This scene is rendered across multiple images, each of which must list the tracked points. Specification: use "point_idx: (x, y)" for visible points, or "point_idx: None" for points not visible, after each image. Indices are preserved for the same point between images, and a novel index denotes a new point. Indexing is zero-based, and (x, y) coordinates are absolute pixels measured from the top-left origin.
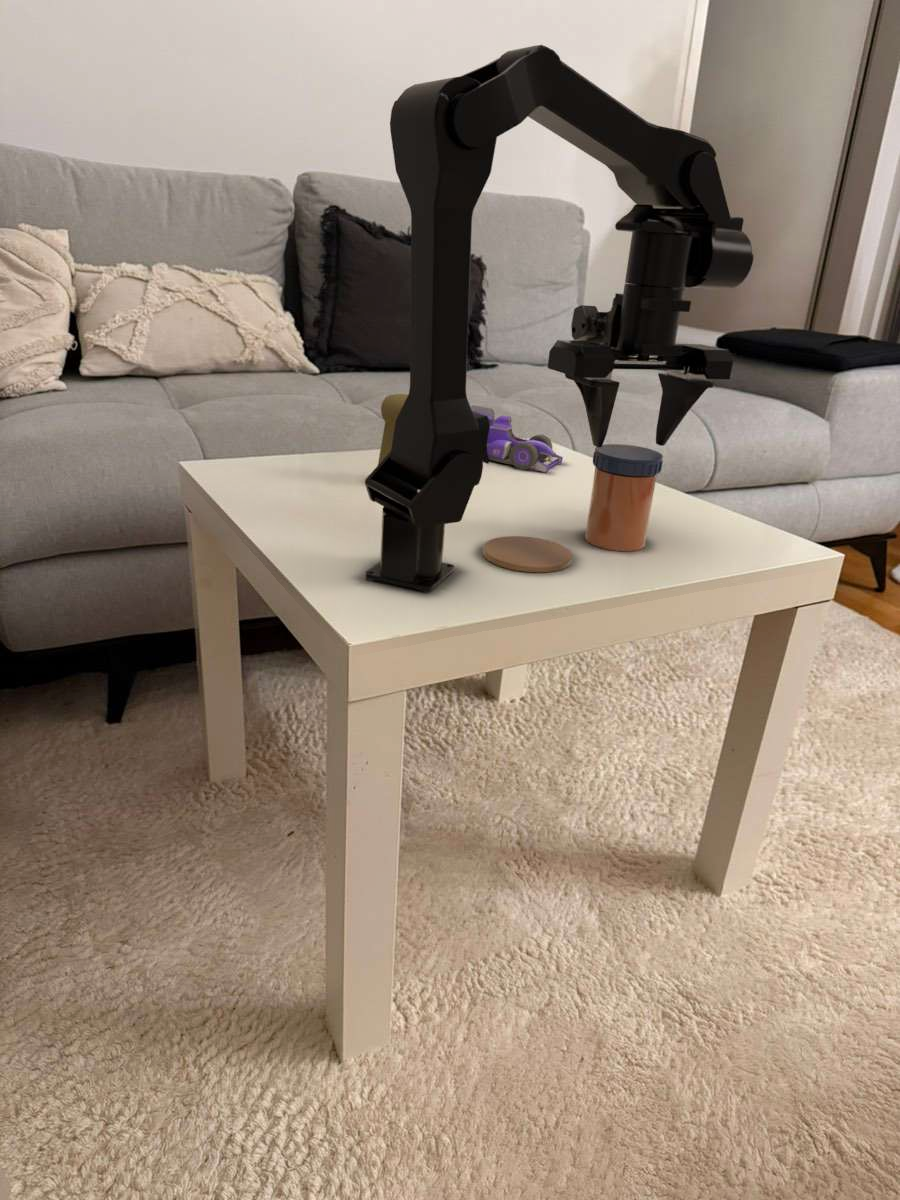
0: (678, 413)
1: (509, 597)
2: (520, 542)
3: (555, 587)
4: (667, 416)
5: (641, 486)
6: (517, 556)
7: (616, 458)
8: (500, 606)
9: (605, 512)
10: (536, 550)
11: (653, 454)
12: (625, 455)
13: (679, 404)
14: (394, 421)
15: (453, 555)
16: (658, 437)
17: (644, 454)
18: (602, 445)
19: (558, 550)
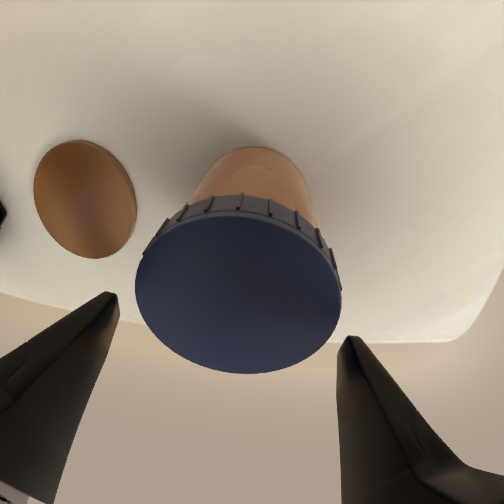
0: (342, 465)
1: (40, 280)
2: (81, 172)
3: (81, 283)
4: (356, 430)
5: None
6: (60, 217)
7: (154, 333)
8: (32, 288)
9: None
10: (89, 207)
11: (289, 348)
12: (193, 332)
13: (347, 488)
14: None
15: (14, 168)
16: (347, 357)
17: (261, 342)
18: (201, 226)
19: (116, 219)
